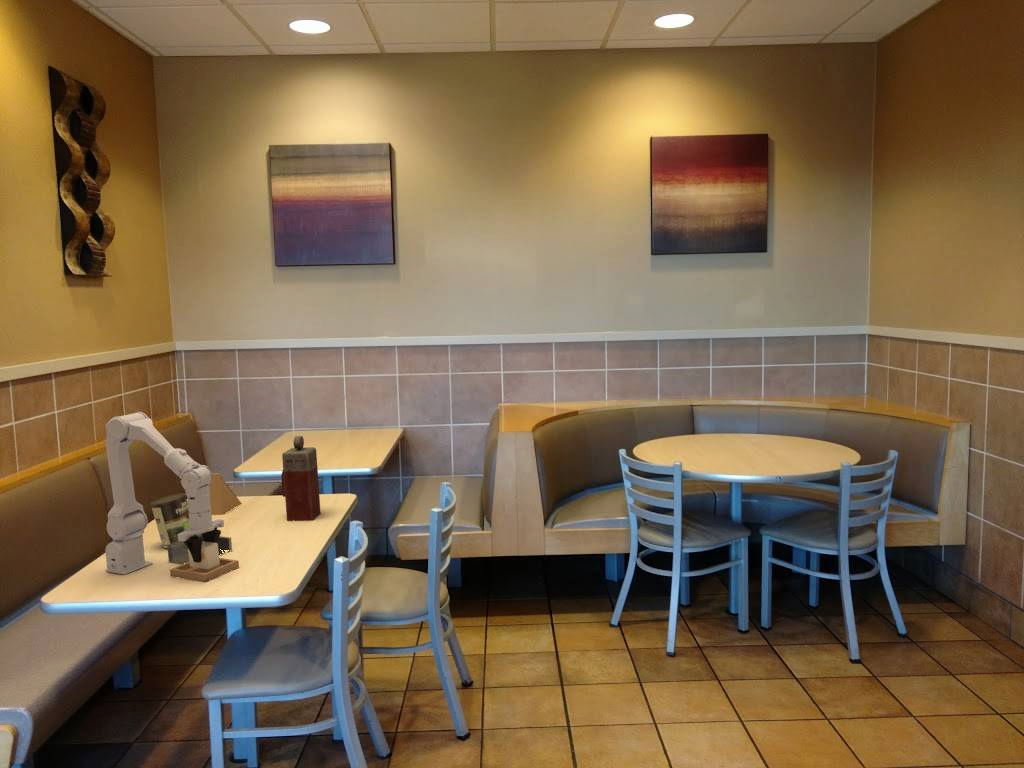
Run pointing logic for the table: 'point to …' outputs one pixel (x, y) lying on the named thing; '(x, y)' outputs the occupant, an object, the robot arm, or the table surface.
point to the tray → (204, 570)
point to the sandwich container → (221, 496)
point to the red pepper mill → (300, 482)
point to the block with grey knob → (206, 556)
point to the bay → (180, 550)
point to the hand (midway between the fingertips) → (204, 559)
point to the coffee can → (171, 517)
